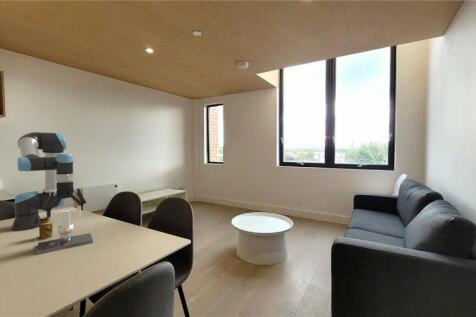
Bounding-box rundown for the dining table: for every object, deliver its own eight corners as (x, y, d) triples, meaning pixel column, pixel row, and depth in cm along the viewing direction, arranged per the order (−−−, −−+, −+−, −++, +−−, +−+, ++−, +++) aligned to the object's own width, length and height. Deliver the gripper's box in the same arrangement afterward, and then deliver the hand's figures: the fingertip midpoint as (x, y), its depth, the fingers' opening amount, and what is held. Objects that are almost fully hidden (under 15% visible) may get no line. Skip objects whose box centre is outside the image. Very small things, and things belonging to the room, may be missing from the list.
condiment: (52, 238, 134) (52, 218, 134) (33, 241, 129) (33, 220, 129) (54, 234, 140) (53, 215, 140) (36, 237, 136) (35, 217, 135)
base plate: (38, 245, 124) (38, 232, 124) (90, 235, 139) (90, 224, 139) (36, 254, 113) (36, 240, 113) (92, 242, 128) (92, 230, 128)
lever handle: (58, 230, 127) (58, 208, 127) (73, 227, 132) (73, 207, 131) (57, 235, 119) (56, 212, 119) (73, 232, 123) (73, 211, 123)
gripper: (39, 184, 112) (40, 227, 113) (92, 179, 134) (92, 215, 135) (33, 183, 116) (34, 224, 117) (85, 178, 138) (86, 213, 138)
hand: (65, 219), depth 126 cm, fingers open, 13 cm apart
